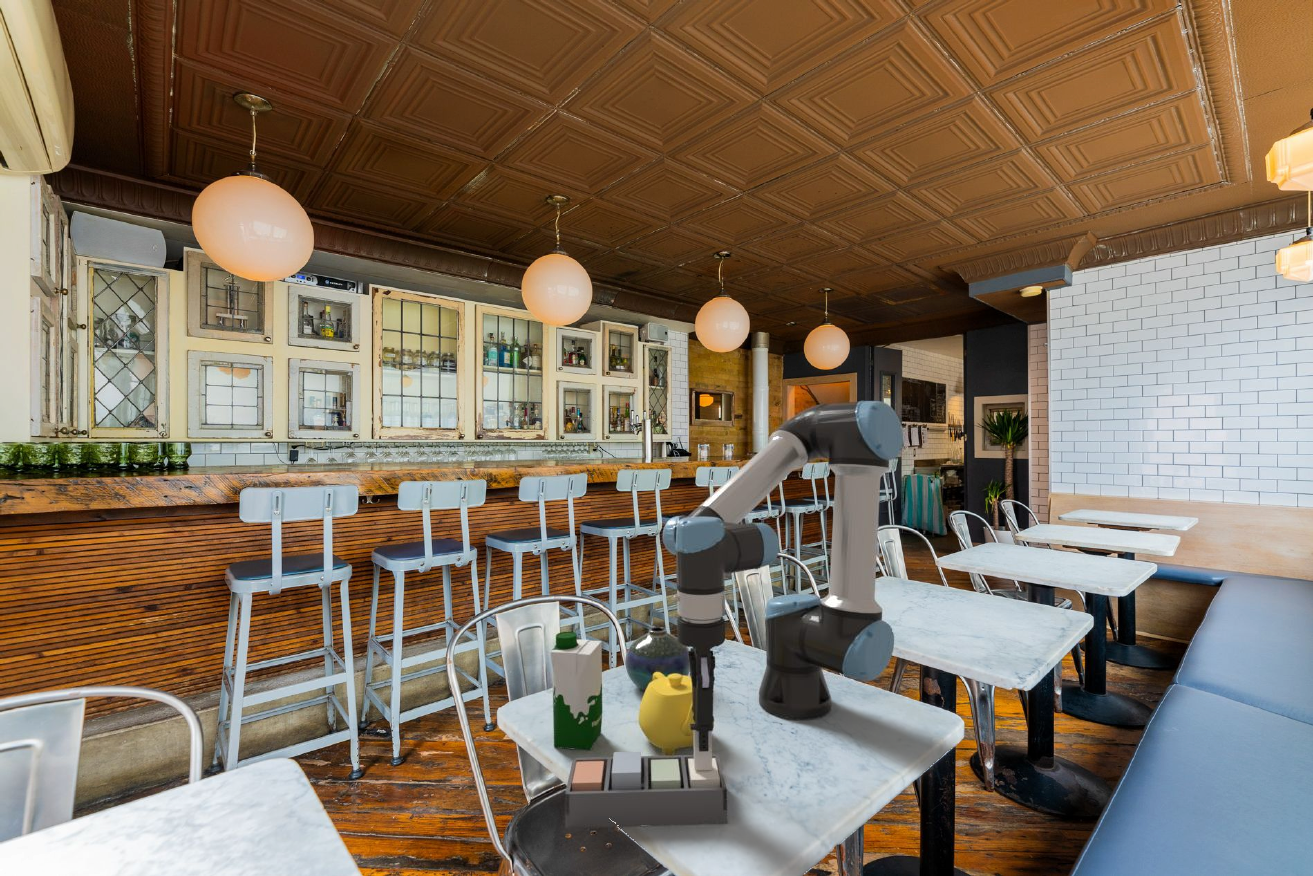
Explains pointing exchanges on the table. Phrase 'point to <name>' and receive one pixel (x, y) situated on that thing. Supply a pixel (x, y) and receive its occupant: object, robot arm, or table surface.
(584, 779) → the key
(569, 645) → the milk carton
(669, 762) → the key
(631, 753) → the key
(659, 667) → the vase
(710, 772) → the key
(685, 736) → the teapot
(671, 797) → the keypad base
